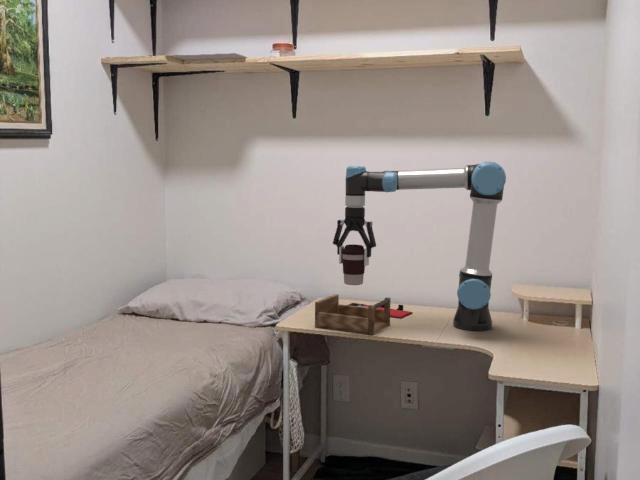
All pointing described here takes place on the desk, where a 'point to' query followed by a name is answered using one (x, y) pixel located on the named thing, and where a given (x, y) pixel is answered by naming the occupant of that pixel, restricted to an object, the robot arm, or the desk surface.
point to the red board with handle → (393, 312)
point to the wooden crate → (351, 316)
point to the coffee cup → (353, 264)
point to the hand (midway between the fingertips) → (353, 264)
